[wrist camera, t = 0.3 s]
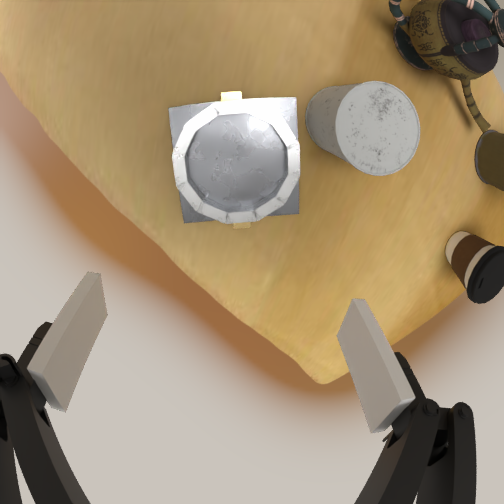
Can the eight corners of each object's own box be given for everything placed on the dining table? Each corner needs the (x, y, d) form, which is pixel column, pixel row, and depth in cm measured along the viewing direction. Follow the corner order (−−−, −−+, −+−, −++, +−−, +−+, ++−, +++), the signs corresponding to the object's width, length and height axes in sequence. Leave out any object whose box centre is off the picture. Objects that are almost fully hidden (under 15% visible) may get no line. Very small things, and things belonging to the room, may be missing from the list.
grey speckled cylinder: (383, 122, 34) (434, 134, 24) (339, 167, 38) (378, 194, 27) (337, 72, 31) (379, 62, 20) (290, 120, 34) (314, 126, 24)
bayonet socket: (169, 100, 32) (163, 100, 30) (294, 90, 32) (299, 88, 30) (186, 227, 41) (182, 236, 38) (298, 218, 41) (302, 226, 38)
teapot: (402, -17, 23) (504, -58, 2) (484, 108, 32) (589, 140, 12) (354, 12, 27) (461, -44, 6) (448, 145, 36) (561, 195, 15)
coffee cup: (430, 273, 47) (463, 312, 37) (441, 221, 42) (483, 254, 32) (468, 266, 47) (501, 299, 37) (479, 217, 42) (519, 246, 32)
